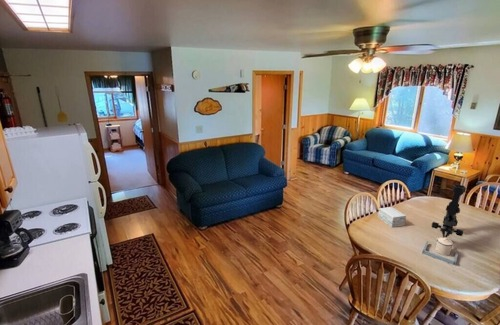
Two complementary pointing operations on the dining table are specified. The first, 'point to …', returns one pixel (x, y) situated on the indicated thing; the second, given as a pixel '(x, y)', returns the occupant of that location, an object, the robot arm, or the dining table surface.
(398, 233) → the dining table surface
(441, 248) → the teacup with lid
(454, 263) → the dock
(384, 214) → the supplement box
